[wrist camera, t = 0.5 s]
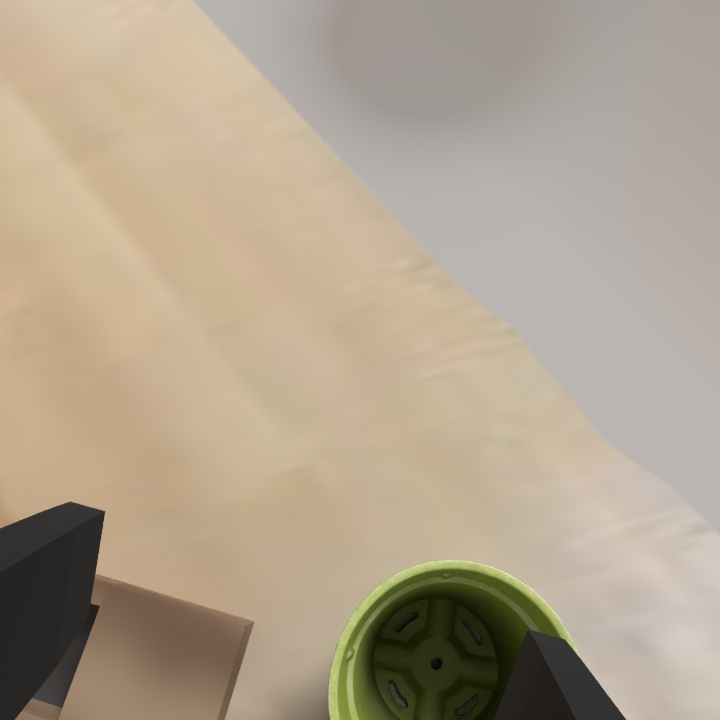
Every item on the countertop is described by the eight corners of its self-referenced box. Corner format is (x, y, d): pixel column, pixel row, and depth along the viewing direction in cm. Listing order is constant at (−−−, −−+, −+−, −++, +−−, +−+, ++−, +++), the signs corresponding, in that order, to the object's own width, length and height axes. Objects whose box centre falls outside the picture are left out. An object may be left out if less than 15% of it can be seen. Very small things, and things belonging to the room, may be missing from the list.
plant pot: (422, 822, 30) (445, 915, 22) (298, 646, 33) (276, 672, 24) (570, 681, 32) (643, 719, 24) (443, 524, 34) (469, 509, 26)
